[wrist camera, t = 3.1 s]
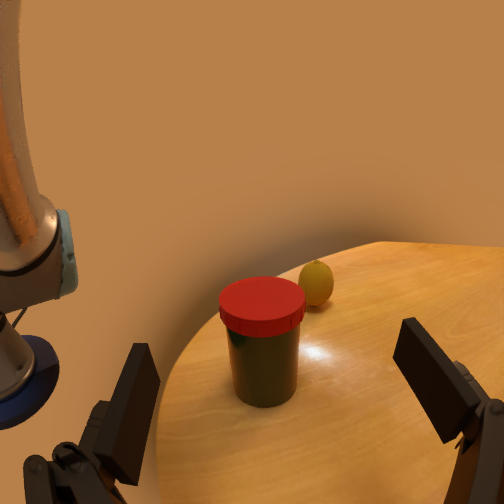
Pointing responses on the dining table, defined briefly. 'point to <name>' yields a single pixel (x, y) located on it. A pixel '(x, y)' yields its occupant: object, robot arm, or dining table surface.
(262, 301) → the cap
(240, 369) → the jar
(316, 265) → the lemon
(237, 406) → the dining table surface
